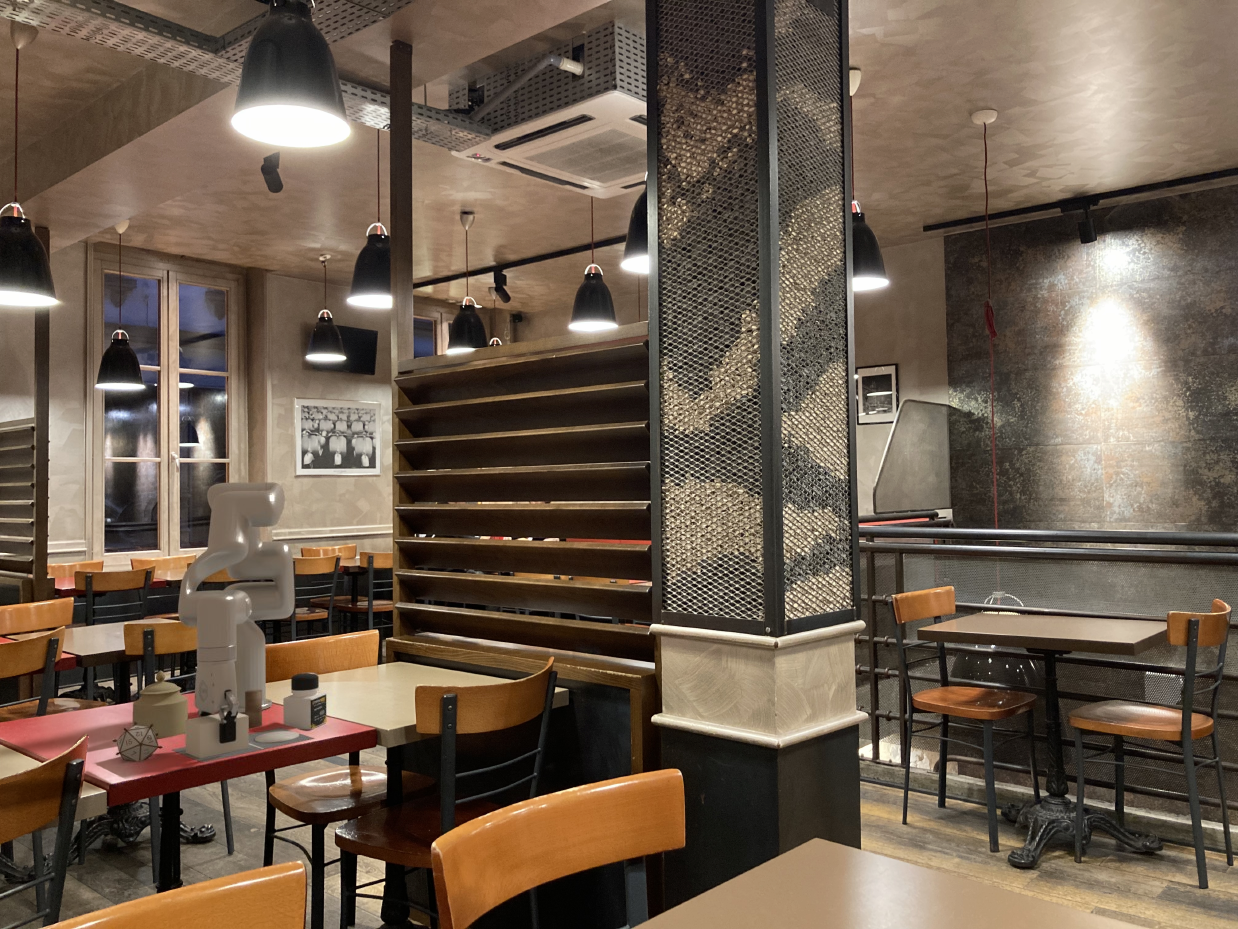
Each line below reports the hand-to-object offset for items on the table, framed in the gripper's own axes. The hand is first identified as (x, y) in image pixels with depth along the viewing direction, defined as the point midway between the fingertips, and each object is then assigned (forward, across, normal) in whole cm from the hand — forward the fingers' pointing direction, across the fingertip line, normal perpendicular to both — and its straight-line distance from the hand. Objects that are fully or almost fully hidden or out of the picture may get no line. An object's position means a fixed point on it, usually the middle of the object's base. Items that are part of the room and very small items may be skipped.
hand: (217, 738), depth 195 cm
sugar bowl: (+4, -27, -2) cm, 28 cm away
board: (+4, -1, +6) cm, 7 cm away
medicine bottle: (+4, -10, +25) cm, 27 cm away
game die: (+4, -7, -13) cm, 15 cm away
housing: (+2, 0, 0) cm, 2 cm away
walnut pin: (+4, -15, +15) cm, 22 cm away
